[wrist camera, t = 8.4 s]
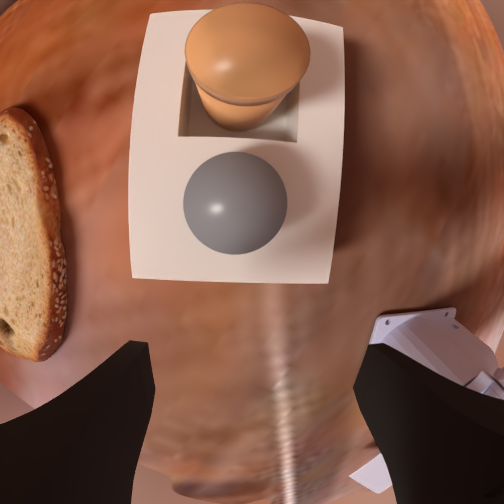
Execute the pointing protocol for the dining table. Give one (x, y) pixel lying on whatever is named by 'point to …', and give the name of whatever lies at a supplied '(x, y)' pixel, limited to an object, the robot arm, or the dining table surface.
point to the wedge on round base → (373, 475)
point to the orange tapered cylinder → (245, 62)
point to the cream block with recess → (234, 170)
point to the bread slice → (29, 242)
